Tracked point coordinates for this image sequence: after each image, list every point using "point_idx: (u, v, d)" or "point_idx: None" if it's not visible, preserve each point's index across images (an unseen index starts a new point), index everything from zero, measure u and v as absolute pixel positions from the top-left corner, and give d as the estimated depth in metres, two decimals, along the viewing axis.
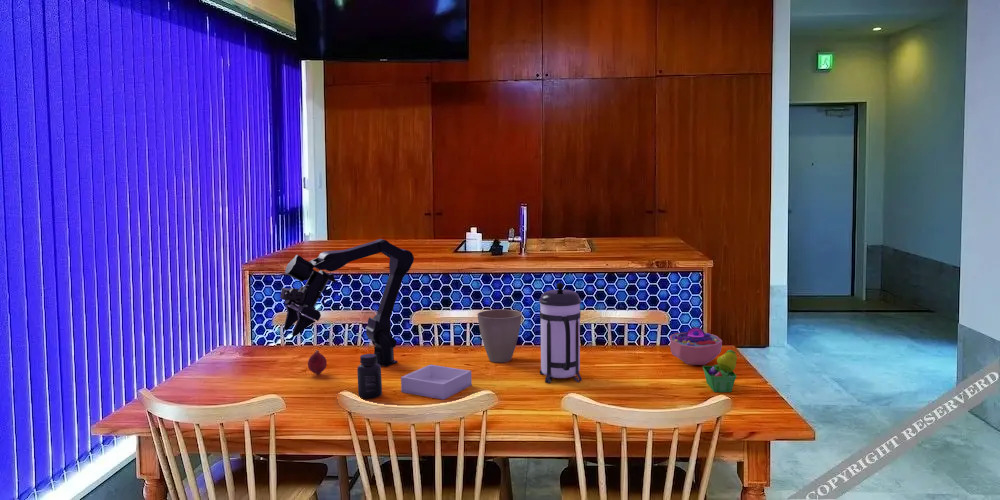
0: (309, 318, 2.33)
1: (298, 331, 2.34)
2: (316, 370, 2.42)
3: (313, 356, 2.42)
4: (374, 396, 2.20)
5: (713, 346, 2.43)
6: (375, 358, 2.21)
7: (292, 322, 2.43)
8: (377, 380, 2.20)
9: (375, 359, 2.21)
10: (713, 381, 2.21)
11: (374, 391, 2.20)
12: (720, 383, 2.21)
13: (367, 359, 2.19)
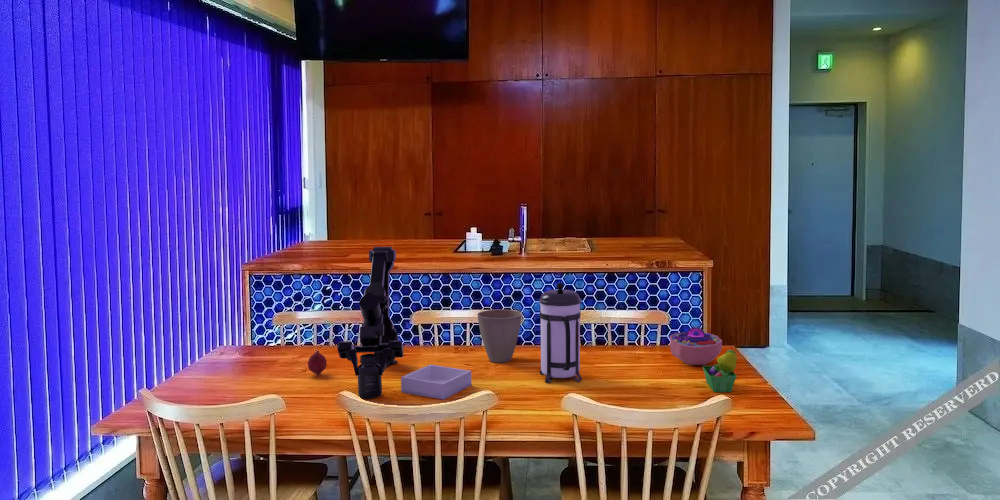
0: (394, 354, 2.25)
1: (384, 369, 2.22)
2: (316, 370, 2.42)
3: (313, 356, 2.42)
4: (374, 396, 2.20)
5: (713, 346, 2.43)
6: (375, 358, 2.21)
7: (357, 367, 2.23)
8: (377, 380, 2.20)
9: (375, 359, 2.21)
10: (713, 381, 2.21)
11: (374, 391, 2.20)
12: (720, 383, 2.21)
13: (367, 359, 2.19)
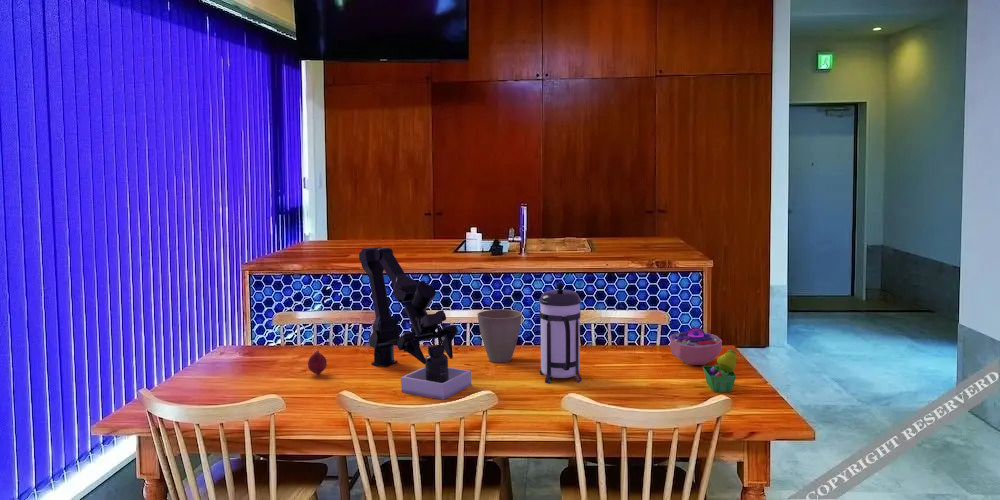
0: None
1: None
2: (316, 370, 2.42)
3: (313, 356, 2.42)
4: None
5: (713, 346, 2.43)
6: None
7: None
8: None
9: None
10: (713, 381, 2.21)
11: (447, 379, 2.27)
12: (720, 383, 2.21)
13: (440, 349, 2.25)
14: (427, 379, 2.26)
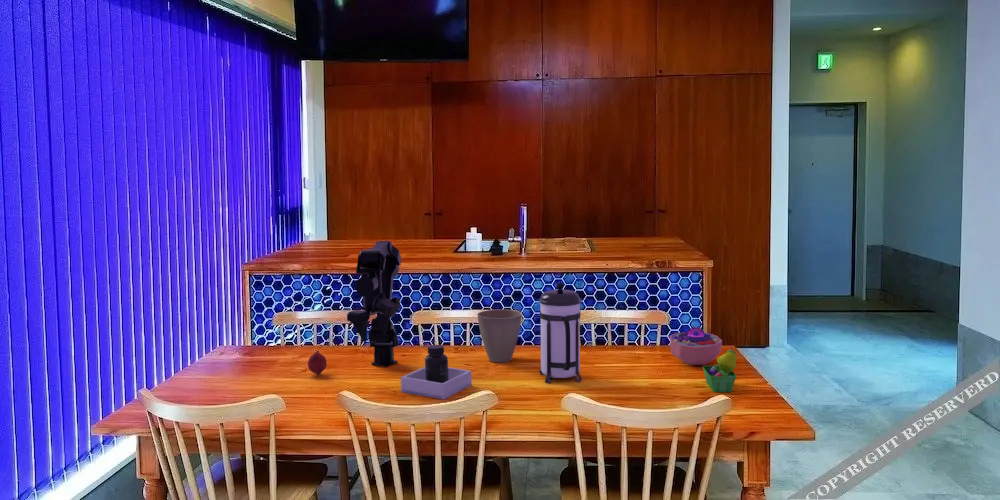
0: None
1: None
2: (316, 370, 2.42)
3: (313, 356, 2.42)
4: None
5: (713, 346, 2.43)
6: None
7: None
8: None
9: (443, 349, 2.28)
10: (713, 381, 2.21)
11: (447, 379, 2.27)
12: (720, 383, 2.21)
13: (439, 349, 2.25)
14: (427, 379, 2.26)
